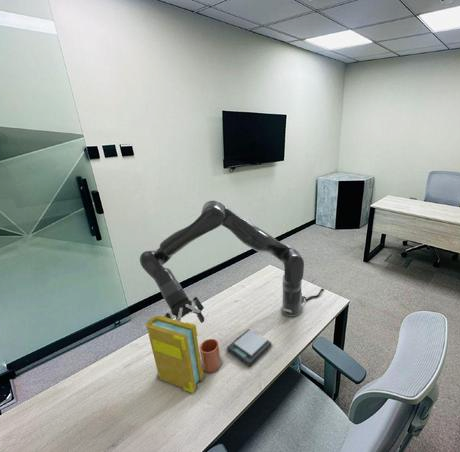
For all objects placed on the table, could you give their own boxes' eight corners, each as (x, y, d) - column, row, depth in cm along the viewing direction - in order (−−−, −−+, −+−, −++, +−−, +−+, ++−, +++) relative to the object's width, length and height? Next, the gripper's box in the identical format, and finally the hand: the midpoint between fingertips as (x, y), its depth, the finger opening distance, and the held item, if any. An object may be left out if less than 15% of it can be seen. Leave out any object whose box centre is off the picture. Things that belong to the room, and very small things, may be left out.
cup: (213, 354, 109) (210, 336, 106) (224, 363, 106) (222, 344, 102) (199, 366, 104) (196, 346, 100) (210, 375, 100) (207, 356, 97)
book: (204, 376, 100) (195, 324, 90) (192, 393, 94) (182, 339, 85) (167, 363, 105) (156, 313, 96) (154, 378, 99) (141, 326, 90)
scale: (249, 332, 121) (249, 326, 120) (271, 345, 114) (271, 340, 113) (227, 350, 111) (226, 344, 110) (249, 366, 104) (249, 361, 103)
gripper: (158, 299, 99) (180, 337, 97) (191, 282, 110) (212, 315, 108) (153, 305, 104) (174, 341, 102) (186, 288, 115) (205, 320, 113)
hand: (193, 328), depth 105 cm, fingers open, 8 cm apart
